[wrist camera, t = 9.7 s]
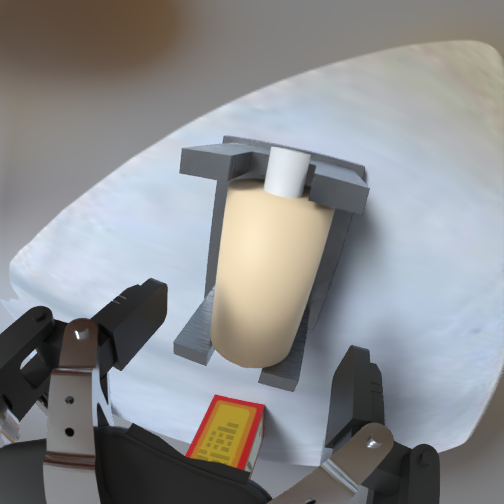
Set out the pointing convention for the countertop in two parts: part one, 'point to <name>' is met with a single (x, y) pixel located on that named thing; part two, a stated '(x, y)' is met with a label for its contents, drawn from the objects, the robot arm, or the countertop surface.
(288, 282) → the paper roll
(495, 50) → the countertop surface
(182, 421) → the countertop surface
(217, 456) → the baking soda box
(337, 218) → the roll holder
